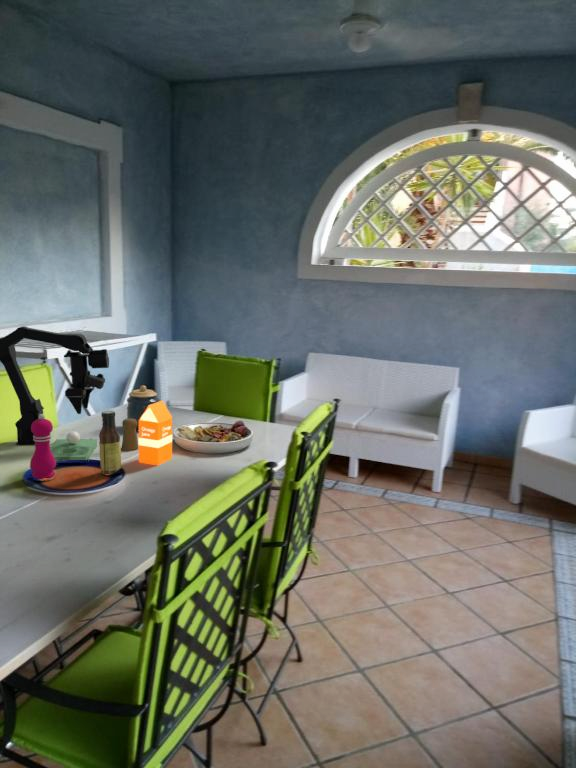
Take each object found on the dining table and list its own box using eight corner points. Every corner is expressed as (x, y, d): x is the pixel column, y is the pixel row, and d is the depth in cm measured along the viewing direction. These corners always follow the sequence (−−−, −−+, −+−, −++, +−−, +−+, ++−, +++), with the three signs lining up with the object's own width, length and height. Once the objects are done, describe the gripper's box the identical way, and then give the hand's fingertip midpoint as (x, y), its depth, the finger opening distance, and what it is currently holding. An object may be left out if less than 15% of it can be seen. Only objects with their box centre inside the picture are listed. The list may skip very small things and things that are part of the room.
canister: (134, 422, 243) (134, 381, 240) (163, 424, 241) (163, 383, 238) (121, 430, 230) (121, 387, 227) (152, 432, 229) (152, 389, 226)
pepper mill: (31, 483, 168) (28, 417, 165) (29, 476, 174) (27, 412, 171) (57, 480, 171) (55, 415, 168) (55, 473, 178) (53, 410, 174)
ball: (65, 445, 198) (64, 433, 197) (68, 442, 202) (67, 429, 202) (78, 445, 199) (78, 433, 198) (81, 442, 203) (81, 429, 202)
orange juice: (138, 462, 192) (138, 404, 188) (153, 455, 200) (153, 399, 196) (158, 465, 189) (158, 406, 186) (172, 458, 197) (173, 401, 194)
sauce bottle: (125, 471, 182) (124, 411, 178) (113, 477, 176) (112, 415, 172) (107, 468, 184) (107, 408, 180) (95, 474, 178) (94, 412, 174)
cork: (133, 451, 203) (133, 421, 201) (118, 449, 204) (117, 420, 202) (141, 447, 209) (141, 417, 207) (126, 445, 210) (126, 416, 208)
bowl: (201, 461, 196) (201, 439, 195) (158, 441, 218) (158, 421, 217) (268, 447, 216) (269, 427, 215) (223, 430, 238) (223, 412, 237)
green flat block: (56, 445, 206) (56, 439, 205) (97, 445, 208) (97, 439, 208) (41, 464, 185) (41, 456, 185) (86, 464, 188) (86, 456, 187)
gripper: (96, 372, 198) (99, 416, 201) (107, 364, 216) (110, 404, 219) (62, 373, 197) (66, 417, 200) (77, 365, 215) (80, 405, 218)
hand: (82, 410), depth 209 cm, fingers open, 9 cm apart
